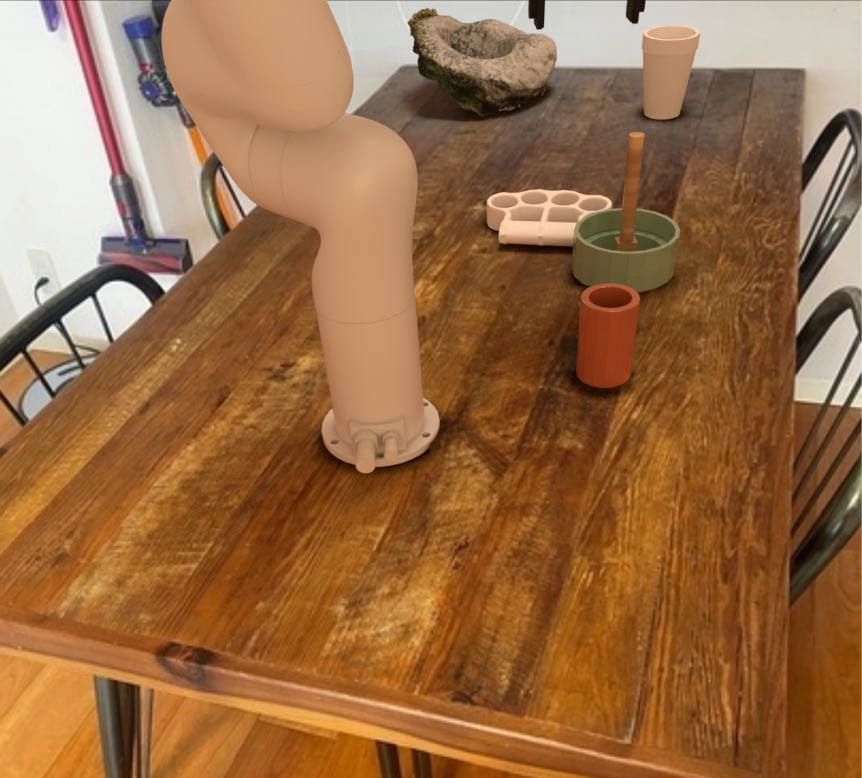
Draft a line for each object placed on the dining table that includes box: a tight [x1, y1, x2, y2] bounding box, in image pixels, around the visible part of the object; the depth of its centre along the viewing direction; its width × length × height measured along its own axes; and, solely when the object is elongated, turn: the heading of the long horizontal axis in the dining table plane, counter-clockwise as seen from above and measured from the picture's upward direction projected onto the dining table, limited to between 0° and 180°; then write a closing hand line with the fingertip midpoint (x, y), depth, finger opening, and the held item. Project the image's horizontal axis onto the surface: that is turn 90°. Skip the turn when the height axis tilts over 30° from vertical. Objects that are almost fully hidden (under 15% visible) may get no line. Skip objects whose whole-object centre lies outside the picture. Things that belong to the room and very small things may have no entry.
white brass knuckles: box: [486, 188, 613, 248], centre depth 123 cm, size 3×18×15 cm
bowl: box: [571, 207, 681, 293], centre depth 111 cm, size 13×13×6 cm
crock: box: [575, 283, 641, 389], centre depth 93 cm, size 6×6×10 cm
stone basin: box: [407, 6, 558, 117], centre depth 164 cm, size 29×30×15 cm
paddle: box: [614, 131, 646, 252], centre depth 107 cm, size 2×3×17 cm
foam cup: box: [641, 24, 701, 120], centre depth 151 cm, size 10×9×13 cm
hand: (585, 23), depth 88 cm, fingers open, 9 cm apart
